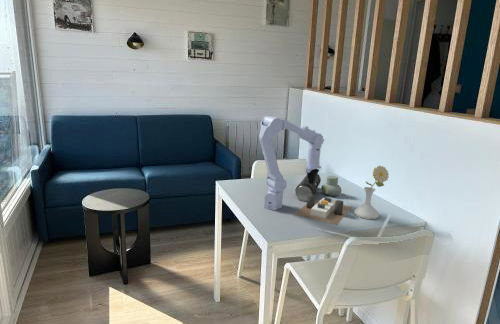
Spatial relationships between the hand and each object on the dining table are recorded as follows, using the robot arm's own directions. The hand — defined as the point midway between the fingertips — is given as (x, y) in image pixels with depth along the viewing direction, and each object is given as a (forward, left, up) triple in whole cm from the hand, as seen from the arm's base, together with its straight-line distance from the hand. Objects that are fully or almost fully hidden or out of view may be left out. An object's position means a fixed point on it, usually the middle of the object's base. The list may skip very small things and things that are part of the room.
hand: (311, 183), depth 180 cm
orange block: (-8, -10, -6) cm, 14 cm away
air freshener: (+20, -5, -11) cm, 23 cm away
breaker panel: (-8, -10, -10) cm, 16 cm away
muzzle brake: (+11, +11, -7) cm, 17 cm away
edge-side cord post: (-8, -17, -9) cm, 21 cm away
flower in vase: (-1, -29, -11) cm, 31 cm away
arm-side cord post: (-8, -3, -9) cm, 13 cm away
